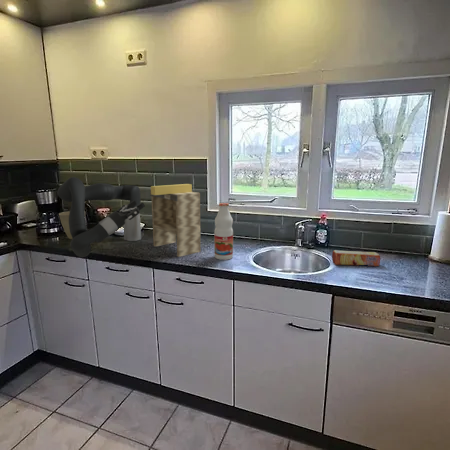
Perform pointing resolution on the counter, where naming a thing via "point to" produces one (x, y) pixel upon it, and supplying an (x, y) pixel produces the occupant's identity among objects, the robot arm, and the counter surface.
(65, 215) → the plant pot
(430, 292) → the counter surface
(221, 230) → the fruit juice
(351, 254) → the snack package
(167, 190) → the spaghetti box
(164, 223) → the beige zigzag patterned stand
